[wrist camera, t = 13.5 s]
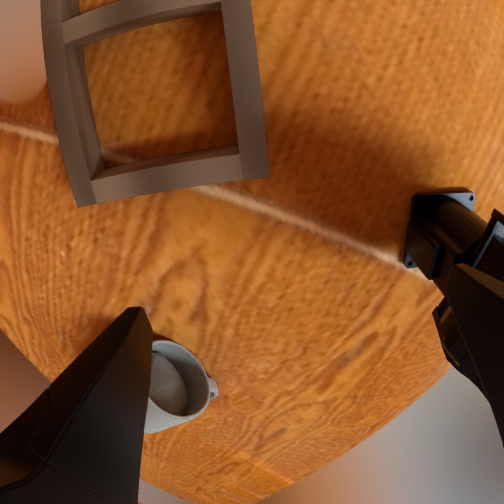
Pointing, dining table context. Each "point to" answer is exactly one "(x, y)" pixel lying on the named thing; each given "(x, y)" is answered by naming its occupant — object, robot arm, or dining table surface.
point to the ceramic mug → (176, 387)
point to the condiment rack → (81, 115)
